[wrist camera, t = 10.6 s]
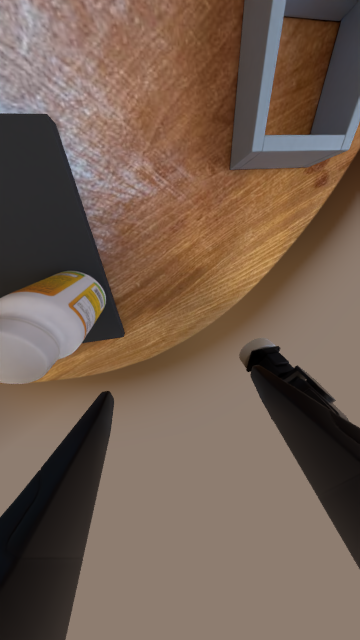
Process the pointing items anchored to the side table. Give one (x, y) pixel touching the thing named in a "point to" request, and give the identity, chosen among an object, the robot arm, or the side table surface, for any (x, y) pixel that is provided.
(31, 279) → the mat
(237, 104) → the holder
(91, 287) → the supplement bottle
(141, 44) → the side table surface
